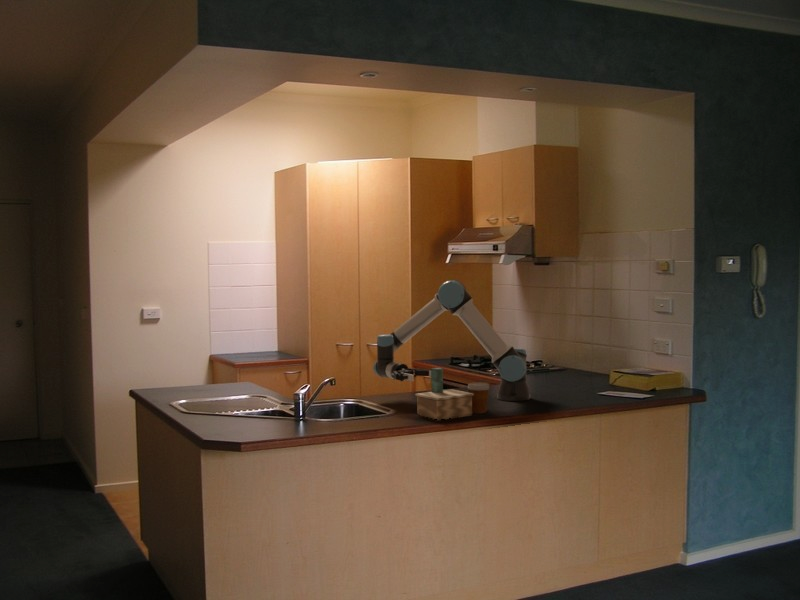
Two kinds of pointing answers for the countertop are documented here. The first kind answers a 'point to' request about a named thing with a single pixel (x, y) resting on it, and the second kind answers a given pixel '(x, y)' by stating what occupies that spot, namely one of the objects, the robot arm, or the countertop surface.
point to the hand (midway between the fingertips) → (426, 376)
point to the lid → (441, 388)
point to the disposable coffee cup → (479, 396)
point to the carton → (444, 407)
